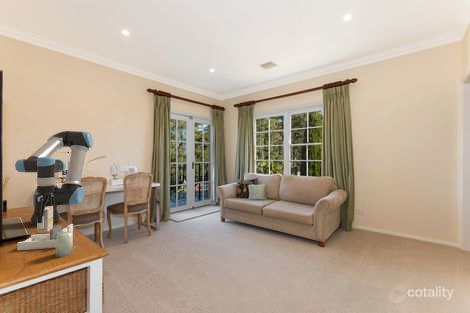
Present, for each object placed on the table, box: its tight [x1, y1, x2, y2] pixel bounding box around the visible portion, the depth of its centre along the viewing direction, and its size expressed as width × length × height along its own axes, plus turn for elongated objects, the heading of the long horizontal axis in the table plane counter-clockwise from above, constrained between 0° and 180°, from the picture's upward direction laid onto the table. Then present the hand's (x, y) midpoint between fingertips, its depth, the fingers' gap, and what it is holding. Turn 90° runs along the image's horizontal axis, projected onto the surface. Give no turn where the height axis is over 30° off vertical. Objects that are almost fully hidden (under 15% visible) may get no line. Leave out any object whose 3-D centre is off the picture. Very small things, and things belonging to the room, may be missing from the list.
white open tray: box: [16, 223, 74, 251], centre depth 111 cm, size 11×18×8 cm, turn 105°
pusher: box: [49, 224, 62, 240], centre depth 113 cm, size 8×6×7 cm
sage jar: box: [55, 231, 74, 258], centre depth 101 cm, size 6×6×9 cm
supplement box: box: [36, 206, 54, 234], centre depth 124 cm, size 8×5×13 cm, turn 23°
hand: (45, 225), depth 124 cm, fingers closed on supplement box, 9 cm apart
